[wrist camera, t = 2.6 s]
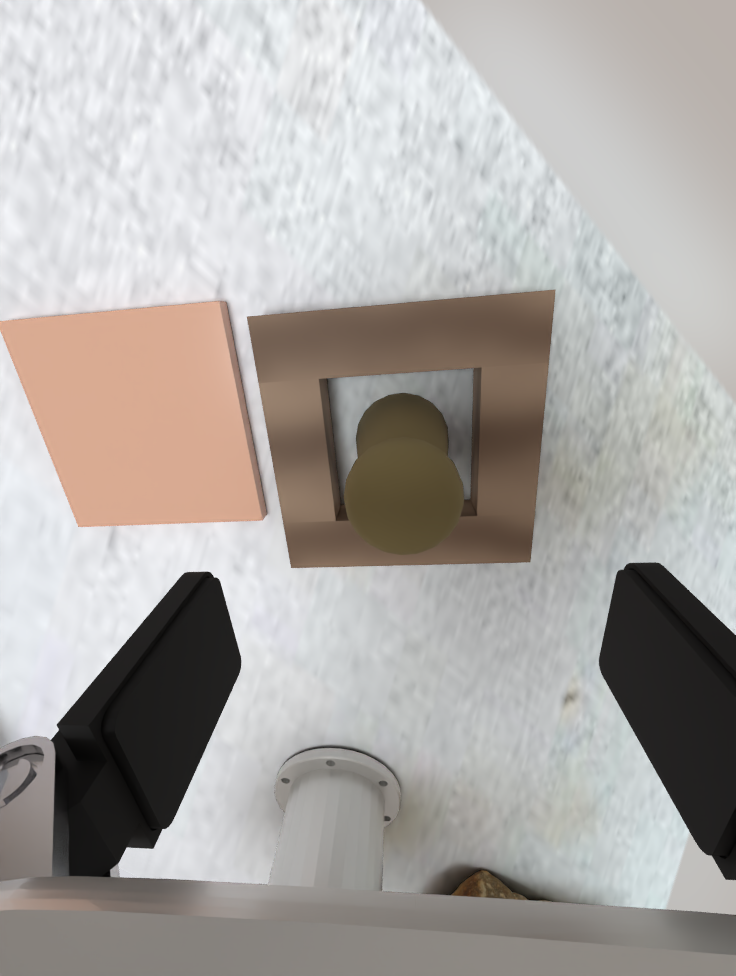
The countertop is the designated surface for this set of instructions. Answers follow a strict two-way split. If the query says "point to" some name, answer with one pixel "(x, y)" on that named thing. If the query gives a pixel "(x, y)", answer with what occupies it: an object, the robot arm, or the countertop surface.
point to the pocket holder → (402, 349)
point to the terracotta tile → (142, 413)
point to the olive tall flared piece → (403, 477)
